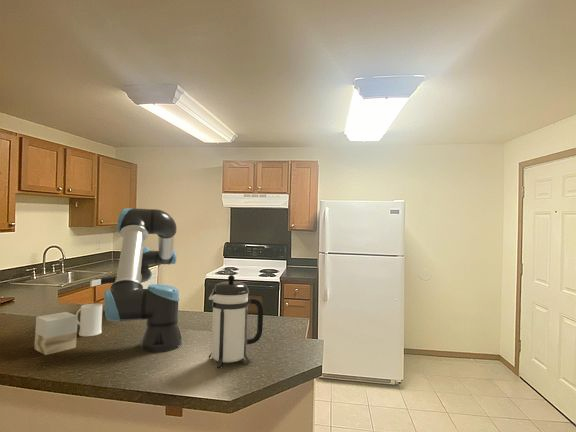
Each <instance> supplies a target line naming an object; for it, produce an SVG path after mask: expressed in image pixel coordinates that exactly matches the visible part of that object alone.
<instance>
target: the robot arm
mask: <svg viewBox="0 0 576 432" xmlns="http://www.w3.org/2000/svg"><path fill="white" fill-rule="evenodd" d="M116 225H117V226H116V227H117V228H116V229H117V232H118V234H120V236H121V238H122V243H121V248H120V256H119V262H118V267H117V273H116V276H115V275H114V276H113V275H112V276H109V277H97V278H95V279H93V280H90V282H89V287H90V288H91V287H95V286H99V287H100V286H101V285H105V284H111V285H110V288H109V289H106V290H105V291H104V295H103V297H104V299H103V303H104V305H103V308H104V315H105V319H106V320H107V321H109V322H119V323H120V322H128V321H141V320H142V321H143V320H145V321H146V327H145V329H144V332H143V334H142V338H141V340H140V349H141V350H142V351H145V352H150V353H151V352H152V353H160V352H161V353H162V352H168V351H167V350H169V351H172V350H171V349H173V350H175V349H174V348H176V347H178V346H179V345H181V346H182V344H181V343H183V341H182V340H183V338H182V334H181V331H180V327H179V301H180V293H179V292H180V291H179V289H178V288H177V287H175V286H173V285H169V284H159V283H158V284H156V283H155V284H152V283H151V284H149V285H148V286H147V288H144V285H143V284H142V283H146V282H147V281H149V280H150V279H151V278H152V274H153V273H152V271H151V269H150V268H149V267H150V265H176V263H177V251H175V250H174V244H175V242H174V241H175V236H176V233H177V224H176V221H175V220H174V219H173V217H172V216H171V215H170V214H169V213H168V212H166V211H164V210H161V209H157V208H156V209H152V208H151V209H150V208H149V209H148V208H133V207H129V208H123V209H121V210H120V212H119V215H118V217H117V224H116ZM149 235H157V241H158V246H157V247H158V250H151V249H150V247H147V246H146V247H145V246H144V245H145V240H146V239H148V237H149ZM179 347H180V346H179ZM179 347H178V348H179ZM176 349H177V348H176Z"/></svg>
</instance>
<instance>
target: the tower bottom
mask: <svg viewBox="0 0 576 432" xmlns="http://www.w3.org/2000/svg"><path fill="white" fill-rule="evenodd" d="M77 335H78V331H77V332H74V333H69V334H64V335H60V336H55V337H50V338H45V337H43V336H41V335H39V334H36V333H35V332H34V347H33V348H34V350H36V351H37V352H39V353H40V354H42V355H44V356H47V355H51V354H55V353H60V352H63V351H67V350H72V349H75V348H77Z"/></svg>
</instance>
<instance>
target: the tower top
mask: <svg viewBox="0 0 576 432" xmlns="http://www.w3.org/2000/svg"><path fill="white" fill-rule="evenodd" d="M78 321H79V315H76V314H73V313H70V312H68V311H63V312H58V313H57V312H55V313H51V314H46V315H45V314H44V315H40V316H36V317H35V331H34V334H35V333H36V334H39V335H41V336H43V337H45V338H50V337H55V336H60V335H64V334H69V333H74V332H77V333H78V323H77V322H78Z"/></svg>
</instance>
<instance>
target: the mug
mask: <svg viewBox="0 0 576 432" xmlns="http://www.w3.org/2000/svg"><path fill="white" fill-rule="evenodd" d="M79 313H80V315H78V314H79ZM75 315H77V316H80V318H79V320H78V322H77V326H79V332H78V336H79V337H93V336H99V335H100V334H102V333H103V332H102V330H103V329H102V321H103V303H86V304H82V305H80V308H79V309H78V310H77V311H76V313H75Z"/></svg>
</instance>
